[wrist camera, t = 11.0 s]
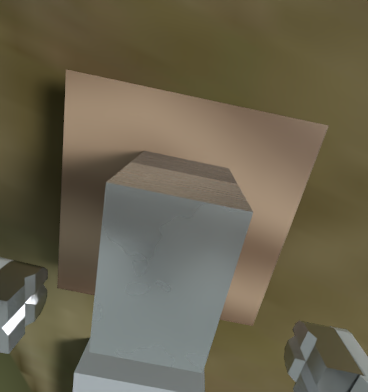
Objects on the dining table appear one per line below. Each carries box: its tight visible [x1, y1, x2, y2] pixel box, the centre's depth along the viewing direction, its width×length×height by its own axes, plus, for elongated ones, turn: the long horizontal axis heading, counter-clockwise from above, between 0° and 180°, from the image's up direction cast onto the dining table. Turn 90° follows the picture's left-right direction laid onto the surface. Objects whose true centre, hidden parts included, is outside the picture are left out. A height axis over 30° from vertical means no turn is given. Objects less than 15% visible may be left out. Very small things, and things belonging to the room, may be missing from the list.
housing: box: [89, 151, 253, 373], centre depth 12 cm, size 7×4×6 cm, turn 169°
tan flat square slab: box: [57, 70, 328, 326], centre depth 16 cm, size 13×13×3 cm
